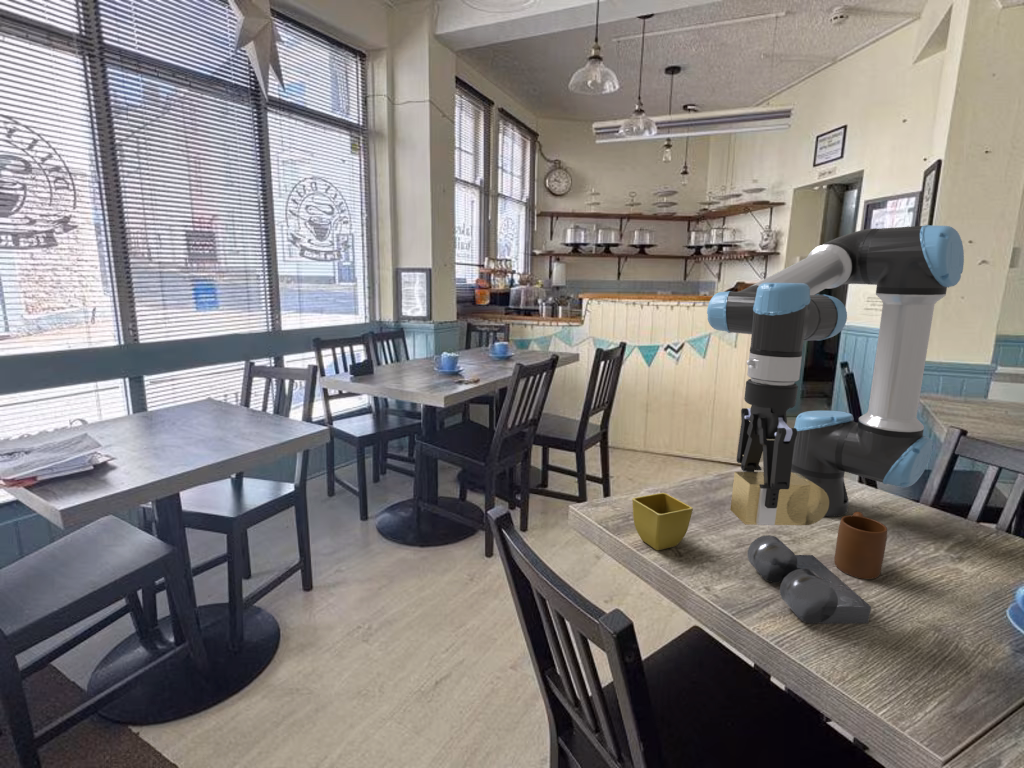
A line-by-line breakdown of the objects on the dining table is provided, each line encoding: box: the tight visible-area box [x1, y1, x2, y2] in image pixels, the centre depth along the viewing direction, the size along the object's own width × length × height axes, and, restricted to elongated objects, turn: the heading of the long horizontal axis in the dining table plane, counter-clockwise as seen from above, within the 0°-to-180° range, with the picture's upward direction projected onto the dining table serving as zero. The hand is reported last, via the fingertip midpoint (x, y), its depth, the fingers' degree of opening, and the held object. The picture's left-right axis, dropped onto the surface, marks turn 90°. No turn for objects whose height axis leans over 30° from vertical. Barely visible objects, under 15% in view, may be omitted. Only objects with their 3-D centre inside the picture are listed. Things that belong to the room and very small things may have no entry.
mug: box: [833, 511, 888, 580], centre depth 103 cm, size 12×8×9 cm, turn 154°
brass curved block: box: [730, 471, 829, 526], centre depth 90 cm, size 14×6×7 cm, turn 92°
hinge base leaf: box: [747, 534, 872, 625], centre depth 93 cm, size 12×16×7 cm
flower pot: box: [631, 492, 694, 551], centre depth 109 cm, size 9×9×9 cm
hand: (755, 515), depth 90 cm, fingers closed on brass curved block, 6 cm apart
